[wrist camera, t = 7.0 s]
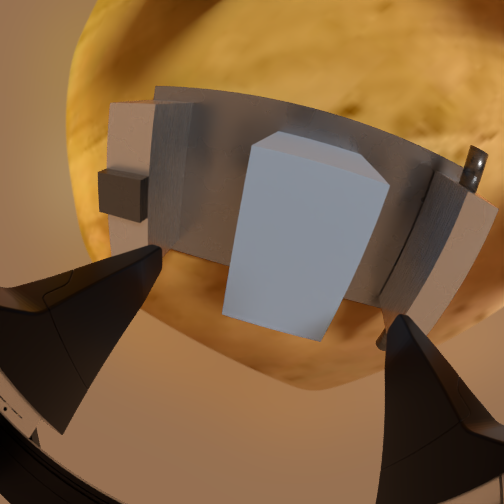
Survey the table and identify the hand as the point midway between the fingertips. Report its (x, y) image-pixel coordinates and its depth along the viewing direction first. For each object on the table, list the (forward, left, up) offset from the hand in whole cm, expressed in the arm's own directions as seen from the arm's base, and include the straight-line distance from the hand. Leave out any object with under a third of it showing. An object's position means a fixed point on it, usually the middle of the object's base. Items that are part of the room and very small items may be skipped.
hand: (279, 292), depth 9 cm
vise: (0, 0, -10) cm, 10 cm away
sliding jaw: (-9, 0, -9) cm, 12 cm away
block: (0, 0, -9) cm, 9 cm away
